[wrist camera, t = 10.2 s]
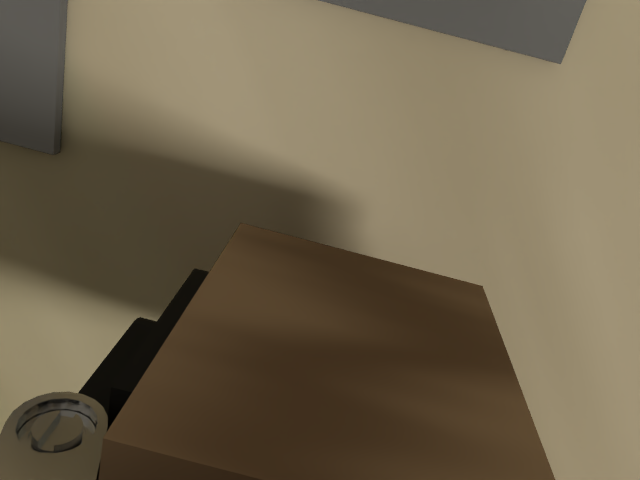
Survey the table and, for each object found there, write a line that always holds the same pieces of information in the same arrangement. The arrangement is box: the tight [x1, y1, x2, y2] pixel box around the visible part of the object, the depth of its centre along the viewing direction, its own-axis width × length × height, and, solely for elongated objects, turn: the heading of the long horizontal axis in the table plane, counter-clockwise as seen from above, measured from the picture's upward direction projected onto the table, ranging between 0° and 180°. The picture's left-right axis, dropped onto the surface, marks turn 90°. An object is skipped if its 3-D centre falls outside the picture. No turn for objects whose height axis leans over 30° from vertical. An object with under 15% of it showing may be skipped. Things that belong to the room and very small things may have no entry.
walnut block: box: [99, 223, 555, 480], centre depth 9 cm, size 5×5×6 cm
